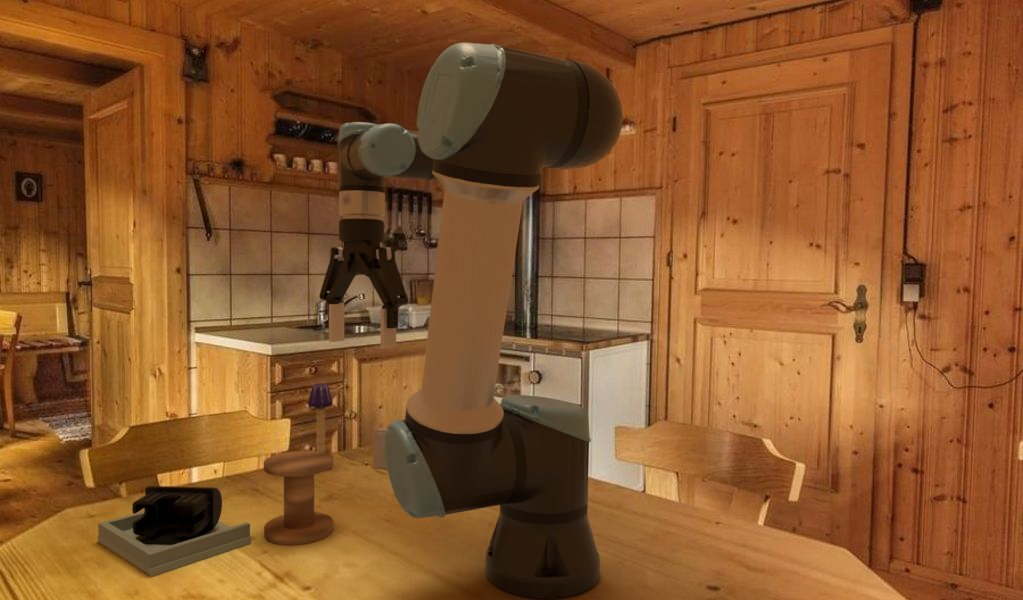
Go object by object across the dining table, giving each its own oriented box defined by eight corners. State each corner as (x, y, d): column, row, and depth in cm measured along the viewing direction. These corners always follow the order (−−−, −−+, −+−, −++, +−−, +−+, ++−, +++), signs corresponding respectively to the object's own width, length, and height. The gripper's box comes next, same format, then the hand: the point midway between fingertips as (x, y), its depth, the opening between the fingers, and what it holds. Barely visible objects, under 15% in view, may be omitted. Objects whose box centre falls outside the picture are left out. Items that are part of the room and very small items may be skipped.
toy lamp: (335, 470, 135) (335, 385, 134) (311, 473, 133) (311, 387, 132) (328, 463, 139) (328, 381, 138) (305, 467, 137) (304, 383, 136)
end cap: (223, 526, 104) (222, 481, 103) (200, 545, 96) (199, 498, 96) (157, 524, 104) (156, 480, 104) (129, 543, 97) (128, 496, 96)
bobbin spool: (347, 530, 105) (347, 459, 105) (289, 551, 98) (288, 474, 97) (307, 514, 112) (307, 447, 111) (250, 532, 104) (250, 460, 103)
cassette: (372, 468, 136) (372, 430, 136) (375, 466, 138) (375, 428, 138) (433, 470, 136) (433, 432, 135) (434, 468, 137) (435, 429, 137)
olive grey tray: (251, 543, 100) (251, 524, 100) (151, 576, 89) (150, 555, 89) (193, 514, 111) (193, 497, 111) (97, 541, 100) (97, 522, 100)
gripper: (298, 219, 121) (299, 340, 122) (394, 214, 105) (394, 353, 106) (334, 221, 127) (334, 336, 128) (430, 217, 111) (429, 349, 112)
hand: (361, 344), depth 117 cm, fingers open, 13 cm apart
